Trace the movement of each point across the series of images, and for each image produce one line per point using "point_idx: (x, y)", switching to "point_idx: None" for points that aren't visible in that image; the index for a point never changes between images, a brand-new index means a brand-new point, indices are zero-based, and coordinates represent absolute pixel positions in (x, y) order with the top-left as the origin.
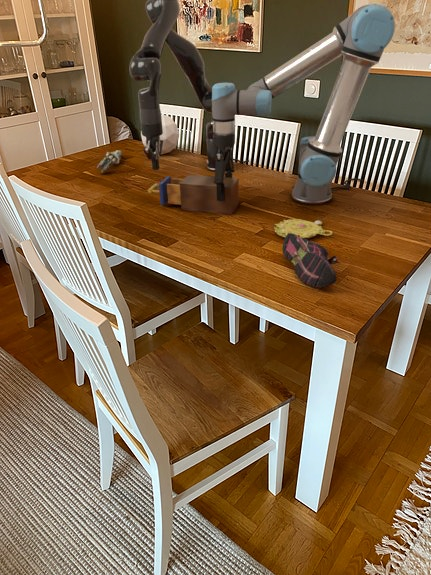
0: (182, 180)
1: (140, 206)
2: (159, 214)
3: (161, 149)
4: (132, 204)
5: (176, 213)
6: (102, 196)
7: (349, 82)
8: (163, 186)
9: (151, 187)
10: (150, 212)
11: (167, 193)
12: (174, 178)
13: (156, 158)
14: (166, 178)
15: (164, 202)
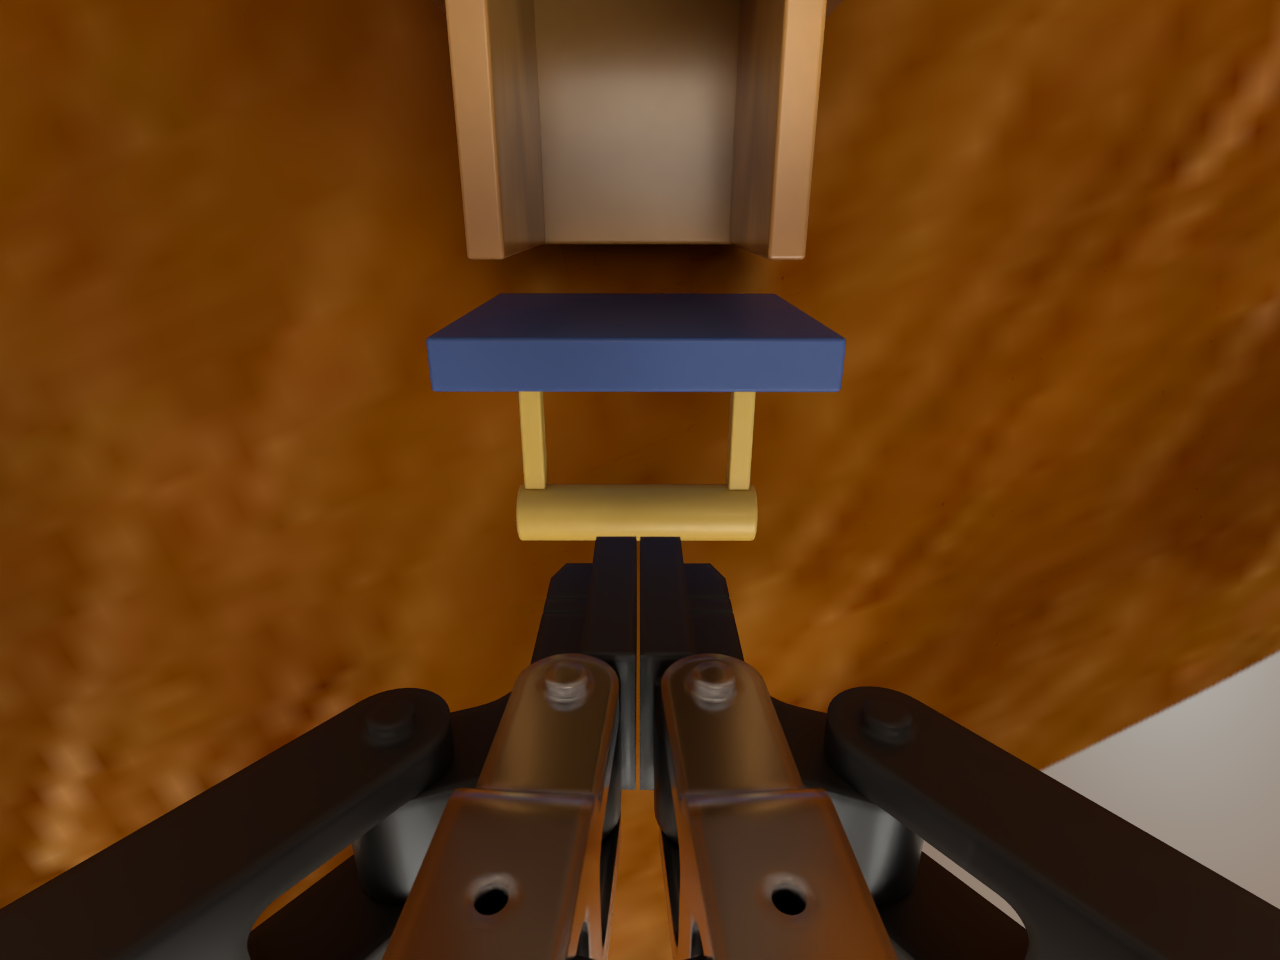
0: (492, 47)
1: (764, 539)
2: (949, 268)
3: (190, 828)
4: None
5: (906, 69)
6: None
7: None
8: (767, 327)
9: (690, 523)
10: (903, 385)
11: (634, 305)
12: (475, 236)
13: (751, 691)
14: (556, 365)
15: (746, 296)
